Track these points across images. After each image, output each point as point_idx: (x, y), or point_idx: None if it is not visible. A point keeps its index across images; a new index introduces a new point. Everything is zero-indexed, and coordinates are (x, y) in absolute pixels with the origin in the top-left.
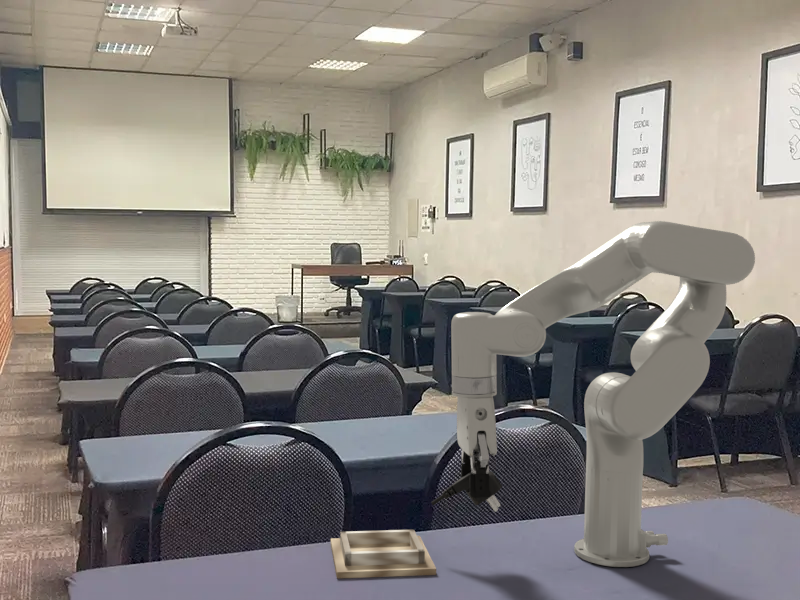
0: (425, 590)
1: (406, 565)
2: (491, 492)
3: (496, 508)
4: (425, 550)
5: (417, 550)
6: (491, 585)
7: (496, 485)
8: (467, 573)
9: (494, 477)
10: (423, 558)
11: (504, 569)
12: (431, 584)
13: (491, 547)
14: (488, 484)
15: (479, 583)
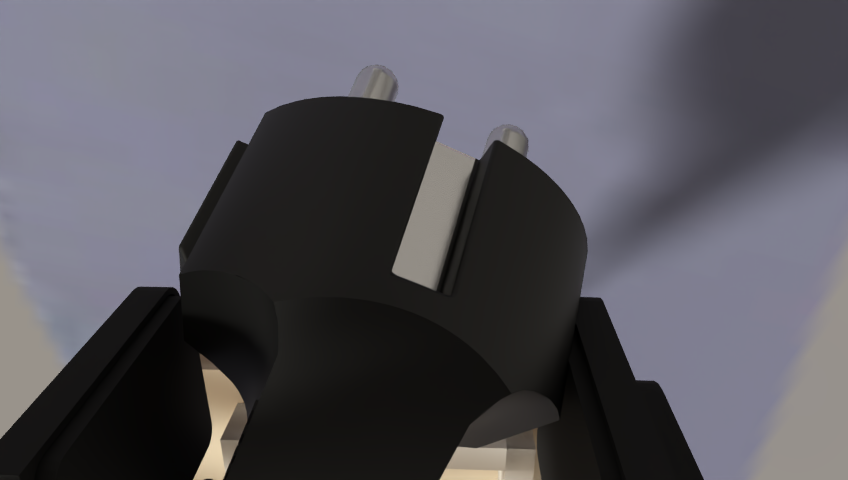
0: (740, 426)
1: (538, 474)
2: (582, 278)
3: (523, 147)
4: None
5: (518, 473)
6: (780, 166)
7: (538, 236)
8: (607, 237)
9: (467, 289)
10: (530, 430)
11: (595, 41)
12: (688, 397)
13: (253, 21)
14: (634, 382)
15: (739, 213)
